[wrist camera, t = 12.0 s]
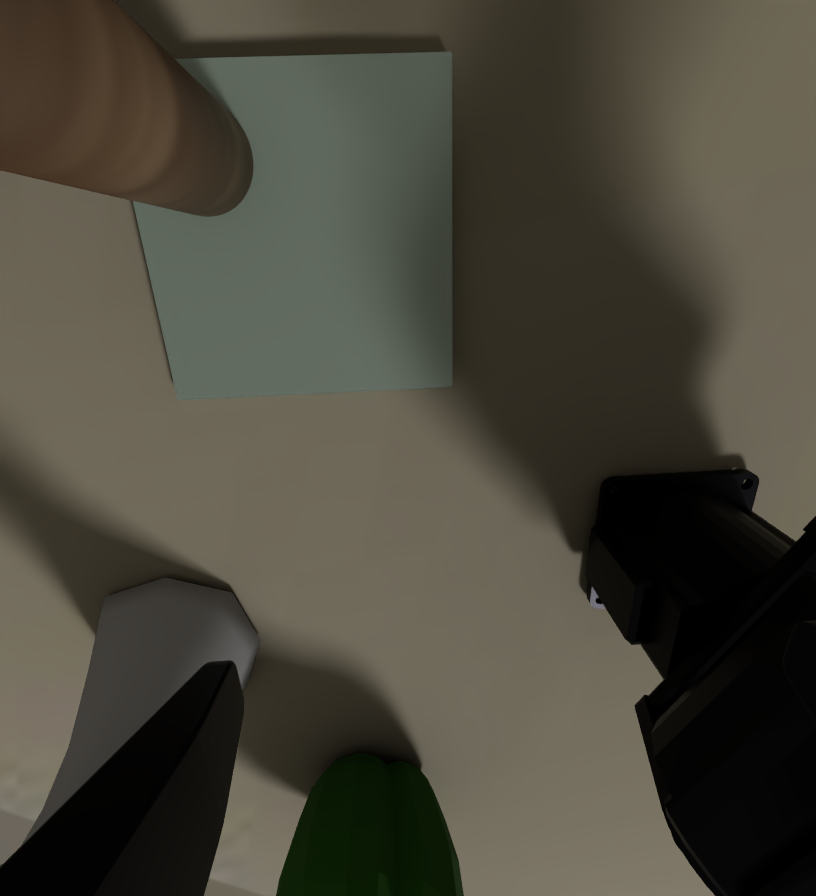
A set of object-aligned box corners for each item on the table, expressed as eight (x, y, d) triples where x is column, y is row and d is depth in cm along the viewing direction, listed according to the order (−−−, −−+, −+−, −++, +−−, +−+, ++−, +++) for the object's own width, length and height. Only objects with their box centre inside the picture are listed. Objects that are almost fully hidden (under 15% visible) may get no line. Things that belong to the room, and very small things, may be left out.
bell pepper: (275, 814, 27) (220, 1103, 18) (322, 715, 24) (285, 995, 15) (412, 841, 29) (426, 1120, 20) (470, 750, 26) (519, 1025, 17)
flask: (81, 575, 21) (-160, 837, 11) (252, 570, 21) (152, 820, 12) (119, 698, 23) (-51, 989, 14) (269, 692, 24) (199, 972, 15)
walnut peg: (267, 59, 14) (-513, -1308, 2) (289, 241, 16) (-24, 183, 4) (97, 64, 14) (-2069, -1418, 2) (139, 247, 15) (-730, 209, 3)
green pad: (449, 59, 15) (452, 51, 14) (450, 383, 18) (452, 386, 18) (112, 68, 14) (101, 60, 14) (183, 395, 18) (177, 400, 17)
